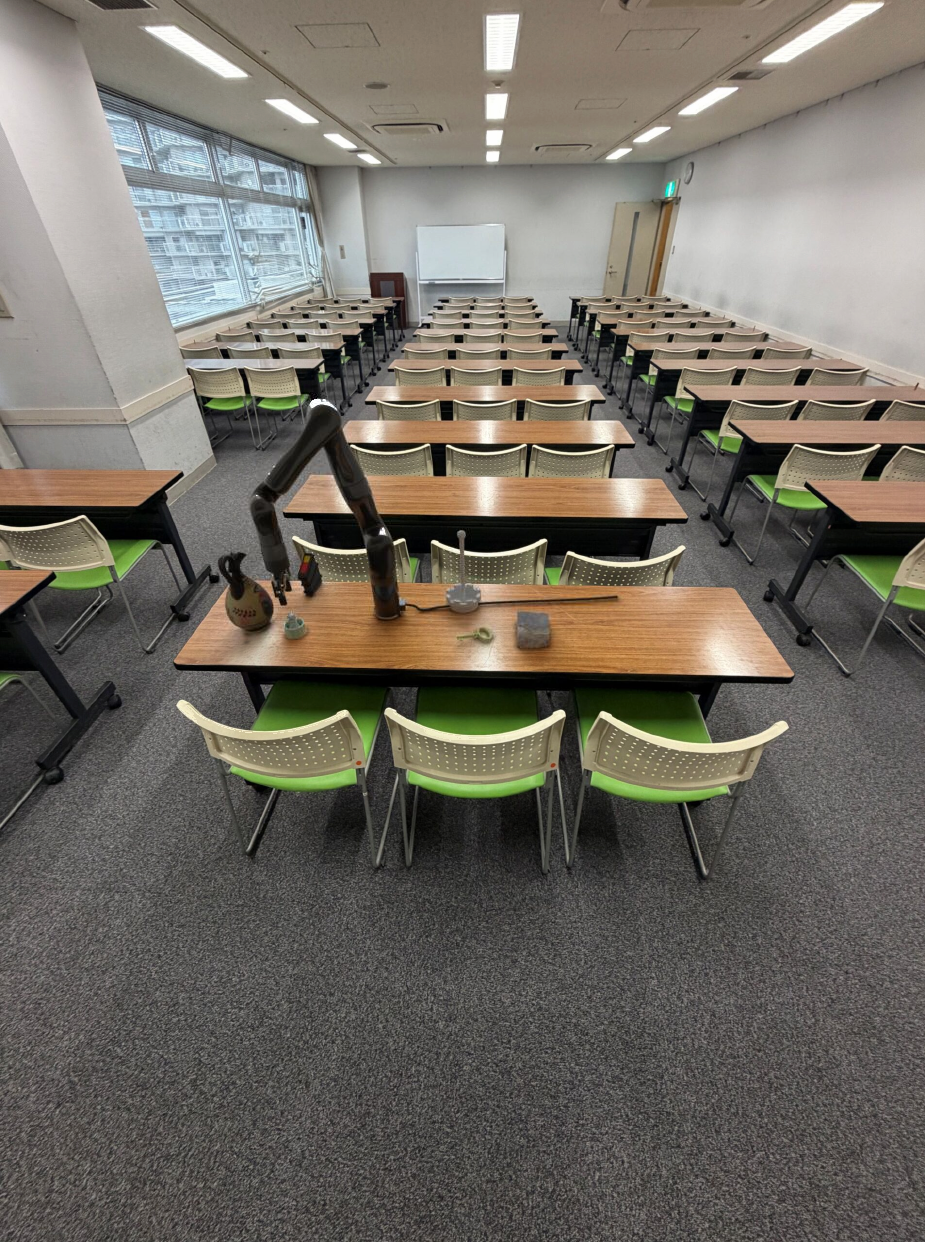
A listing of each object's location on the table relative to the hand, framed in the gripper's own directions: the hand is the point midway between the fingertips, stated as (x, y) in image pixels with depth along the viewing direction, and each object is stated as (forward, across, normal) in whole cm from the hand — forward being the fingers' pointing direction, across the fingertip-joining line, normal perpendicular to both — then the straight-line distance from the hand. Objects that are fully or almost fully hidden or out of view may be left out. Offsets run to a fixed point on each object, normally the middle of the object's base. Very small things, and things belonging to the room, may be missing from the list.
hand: (286, 598), depth 171 cm
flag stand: (+15, +10, -60) cm, 63 cm away
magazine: (+15, +28, -2) cm, 32 cm away
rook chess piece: (+15, 0, 0) cm, 15 cm away
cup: (+15, 0, 0) cm, 15 cm away
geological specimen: (+15, -12, -82) cm, 84 cm away
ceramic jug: (+15, +6, +15) cm, 22 cm away
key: (+15, -11, -62) cm, 65 cm away
